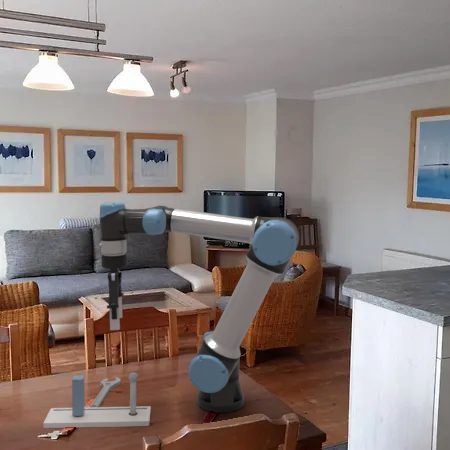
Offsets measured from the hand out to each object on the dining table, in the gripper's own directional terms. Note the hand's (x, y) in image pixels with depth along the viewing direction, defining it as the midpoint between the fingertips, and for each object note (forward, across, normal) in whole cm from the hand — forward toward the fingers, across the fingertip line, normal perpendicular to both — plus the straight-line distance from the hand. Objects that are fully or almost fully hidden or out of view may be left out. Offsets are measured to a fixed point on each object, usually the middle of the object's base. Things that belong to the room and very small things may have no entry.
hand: (116, 323), depth 167 cm
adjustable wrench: (+28, -13, -7) cm, 31 cm away
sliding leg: (+25, +5, -12) cm, 28 cm away
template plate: (+27, +5, -6) cm, 28 cm away
